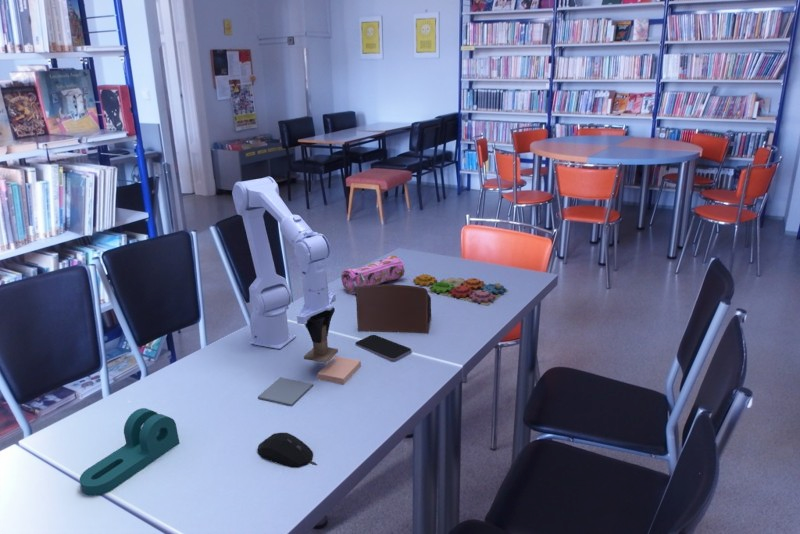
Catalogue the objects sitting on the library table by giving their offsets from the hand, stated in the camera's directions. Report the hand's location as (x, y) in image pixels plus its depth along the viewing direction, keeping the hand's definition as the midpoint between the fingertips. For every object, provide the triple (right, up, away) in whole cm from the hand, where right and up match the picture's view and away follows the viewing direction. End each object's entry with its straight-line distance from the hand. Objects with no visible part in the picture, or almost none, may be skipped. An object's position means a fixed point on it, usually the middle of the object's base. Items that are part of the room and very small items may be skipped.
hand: (320, 339), depth 140 cm
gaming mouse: (-2, -19, -28) cm, 34 cm away
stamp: (0, -4, +2) cm, 4 cm away
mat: (-7, -11, -7) cm, 15 cm away
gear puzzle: (+38, +10, +50) cm, 63 cm away
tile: (+1, -7, +2) cm, 8 cm away
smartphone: (+15, -4, +12) cm, 20 cm away
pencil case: (+11, +11, +54) cm, 56 cm away
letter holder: (+18, +1, +25) cm, 31 cm away
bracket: (-32, -21, -29) cm, 48 cm away
